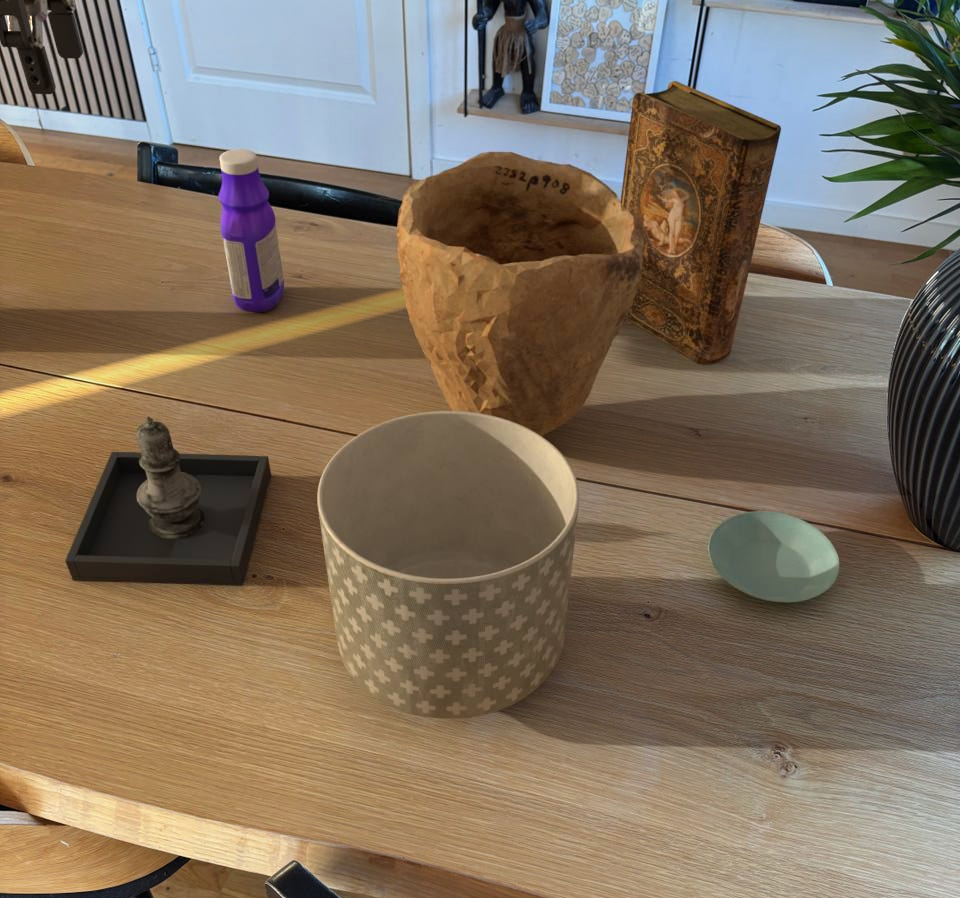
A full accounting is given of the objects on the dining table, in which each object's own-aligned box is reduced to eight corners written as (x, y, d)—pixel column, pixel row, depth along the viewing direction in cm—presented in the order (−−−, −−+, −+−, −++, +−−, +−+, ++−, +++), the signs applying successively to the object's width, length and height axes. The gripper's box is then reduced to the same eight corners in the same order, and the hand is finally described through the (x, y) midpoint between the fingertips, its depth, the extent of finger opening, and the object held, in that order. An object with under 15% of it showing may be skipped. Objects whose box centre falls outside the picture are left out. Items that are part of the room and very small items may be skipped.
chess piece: (187, 547, 95) (158, 443, 86) (133, 532, 96) (99, 428, 87) (219, 508, 98) (195, 405, 89) (166, 494, 100) (137, 390, 91)
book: (738, 352, 118) (790, 129, 100) (705, 368, 116) (752, 144, 97) (639, 293, 127) (670, 78, 108) (607, 307, 125) (633, 90, 106)
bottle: (249, 283, 127) (224, 139, 114) (292, 288, 127) (272, 144, 114) (227, 313, 123) (200, 167, 110) (272, 318, 122) (249, 172, 109)
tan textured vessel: (633, 498, 101) (672, 261, 82) (408, 506, 100) (395, 268, 81) (600, 368, 116) (626, 143, 97) (404, 374, 115) (392, 147, 96)
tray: (72, 580, 92) (64, 560, 90) (117, 471, 103) (111, 451, 101) (243, 585, 92) (239, 565, 90) (271, 475, 103) (268, 455, 101)
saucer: (836, 626, 90) (843, 608, 88) (702, 608, 91) (706, 590, 89) (829, 537, 98) (836, 519, 96) (705, 521, 99) (710, 503, 97)
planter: (584, 601, 91) (606, 437, 78) (526, 767, 79) (539, 609, 66) (387, 554, 95) (375, 391, 81) (303, 707, 83) (272, 545, 69)
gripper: (-17, -165, 86) (42, 45, 98) (-84, -123, 77) (-10, 104, 89) (71, -163, 86) (119, 47, 98) (15, -120, 77) (76, 106, 89)
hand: (58, 74), depth 93 cm, fingers open, 8 cm apart
